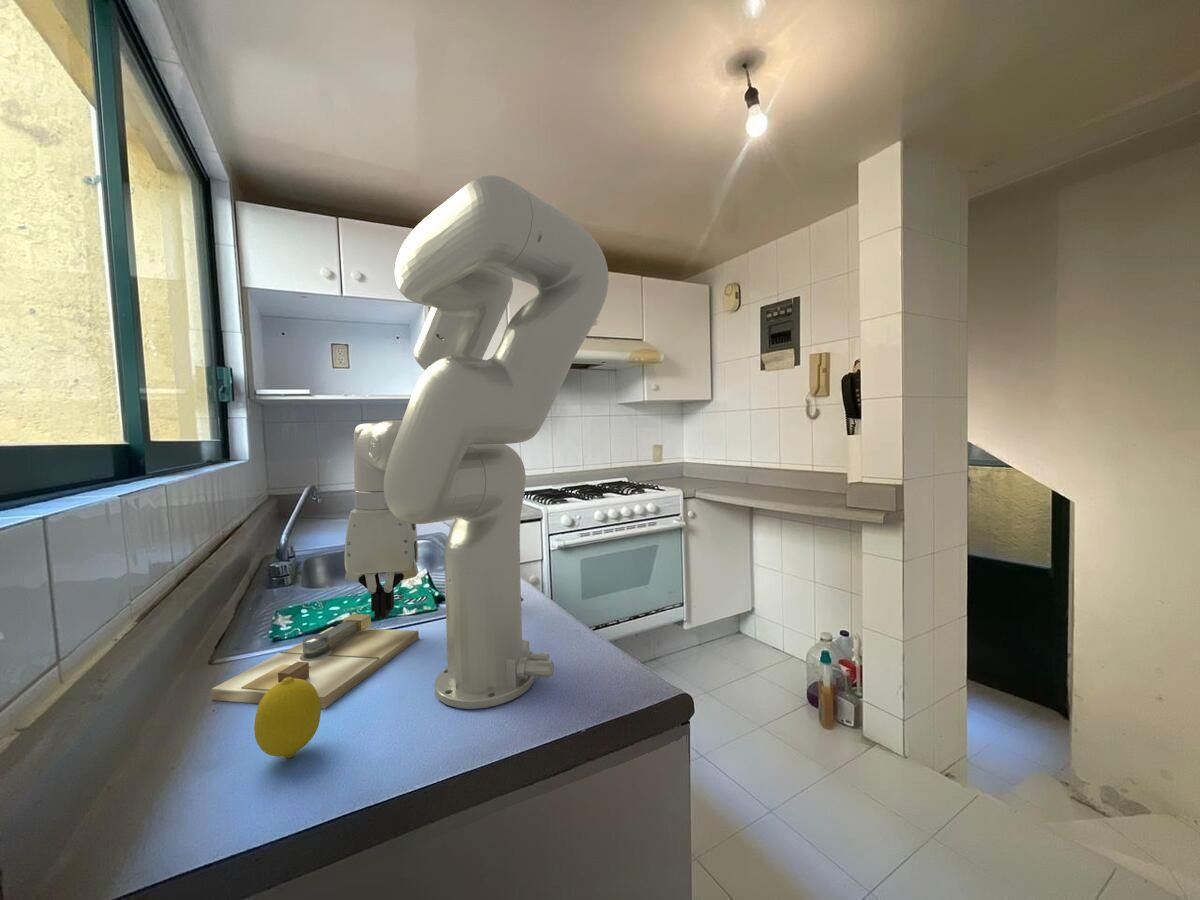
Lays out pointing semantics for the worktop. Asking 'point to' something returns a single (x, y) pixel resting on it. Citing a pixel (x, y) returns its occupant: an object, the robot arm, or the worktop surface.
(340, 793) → the worktop surface
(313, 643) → the lock bar
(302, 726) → the lemon
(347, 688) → the board
